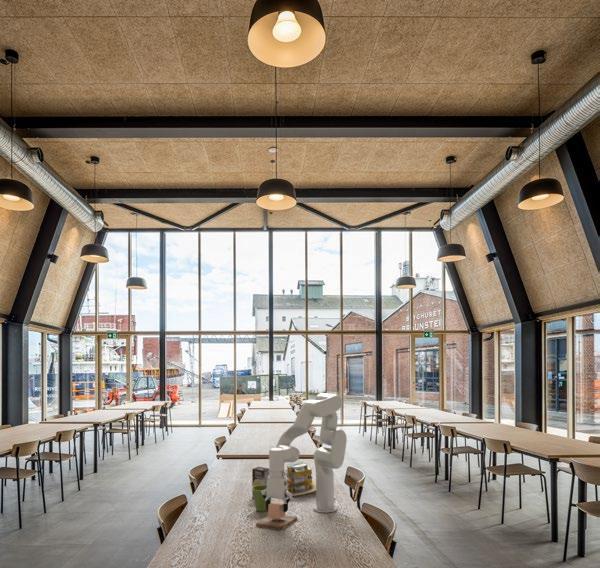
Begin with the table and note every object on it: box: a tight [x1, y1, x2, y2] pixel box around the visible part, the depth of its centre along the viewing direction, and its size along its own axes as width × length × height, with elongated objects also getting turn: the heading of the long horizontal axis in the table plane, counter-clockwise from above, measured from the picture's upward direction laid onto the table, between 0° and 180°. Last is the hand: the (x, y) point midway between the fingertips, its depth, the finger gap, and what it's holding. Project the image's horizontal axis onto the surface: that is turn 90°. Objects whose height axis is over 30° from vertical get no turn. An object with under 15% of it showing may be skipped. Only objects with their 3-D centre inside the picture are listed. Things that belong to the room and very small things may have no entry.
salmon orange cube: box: [267, 500, 286, 519], centre depth 245 cm, size 6×6×6 cm
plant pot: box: [251, 485, 272, 512], centre depth 265 cm, size 12×12×11 cm
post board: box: [255, 514, 298, 532], centre depth 244 cm, size 16×14×8 cm
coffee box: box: [251, 466, 269, 499], centre depth 287 cm, size 9×6×16 cm
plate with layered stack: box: [284, 460, 316, 496], centre depth 298 cm, size 25×25×17 cm
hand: (276, 510), depth 244 cm, fingers open, 9 cm apart
